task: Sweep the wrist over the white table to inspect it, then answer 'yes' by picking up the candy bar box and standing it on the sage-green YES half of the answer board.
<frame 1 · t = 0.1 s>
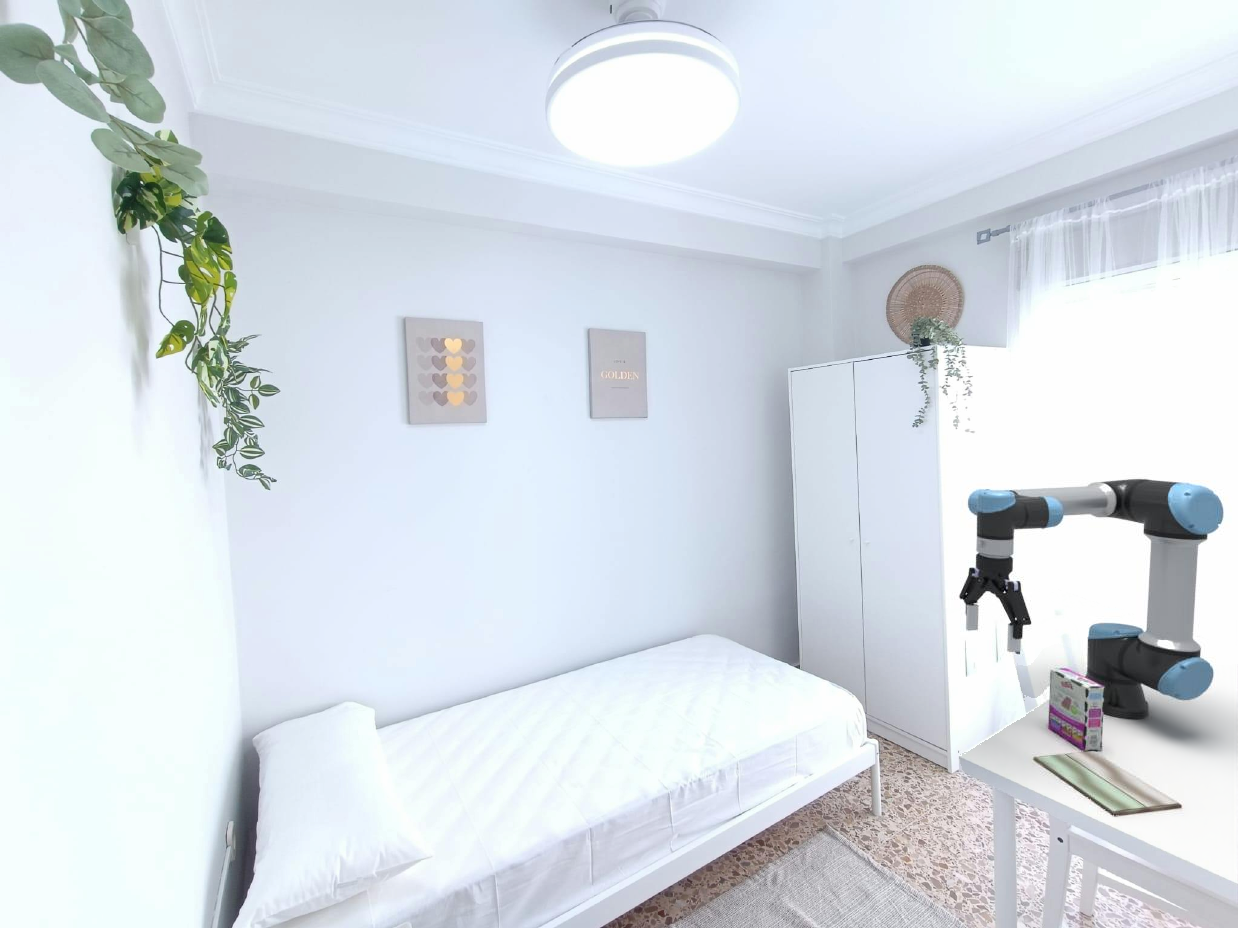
hand: (991, 639, 142), 28 cm above the table, fingers open, 13 cm apart
answer board: (1102, 781, 131), on the table
candy bar box: (1074, 739, 148), on the table
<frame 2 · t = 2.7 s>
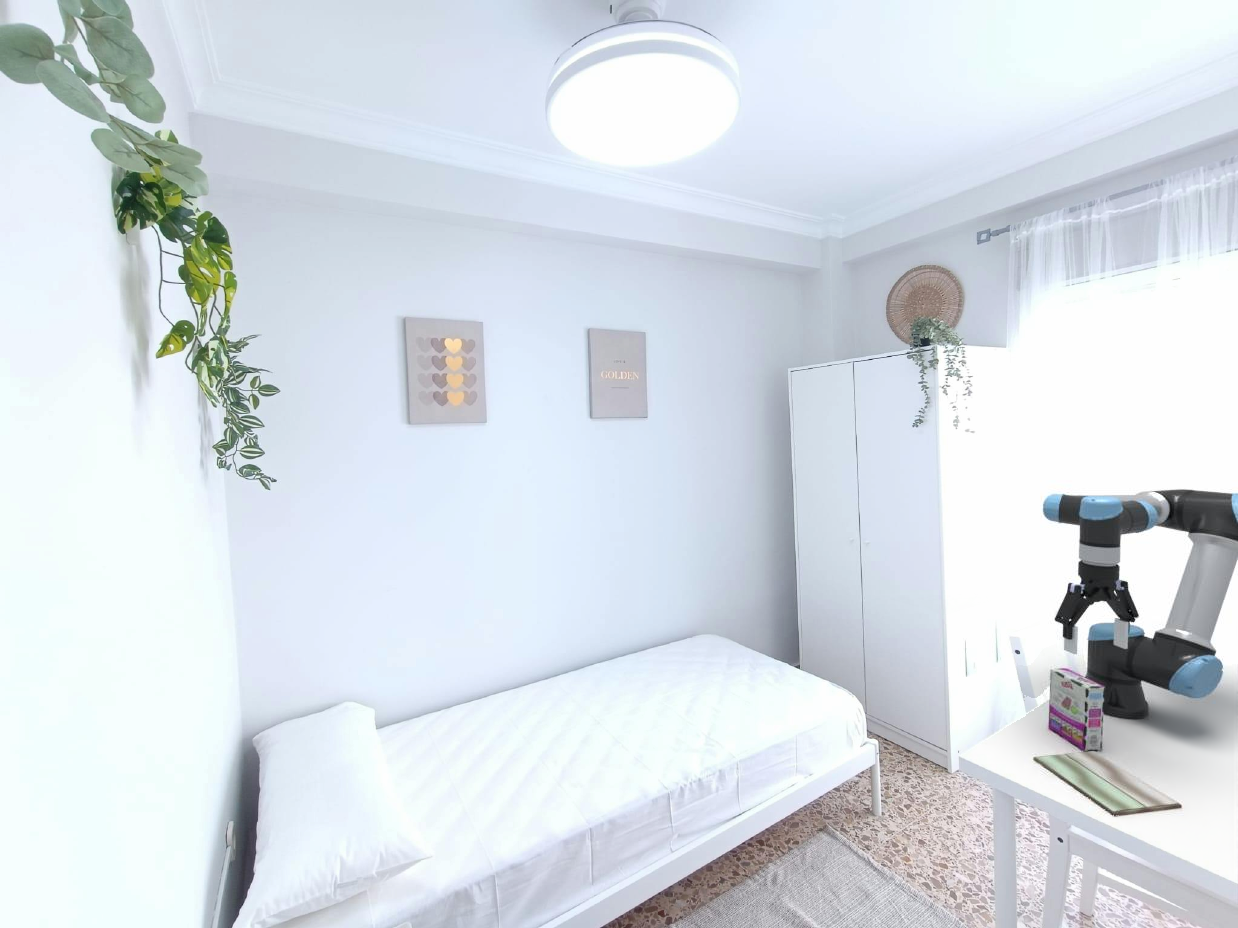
hand: (1095, 649, 139), 26 cm above the table, fingers open, 13 cm apart
nothing on the table moved.
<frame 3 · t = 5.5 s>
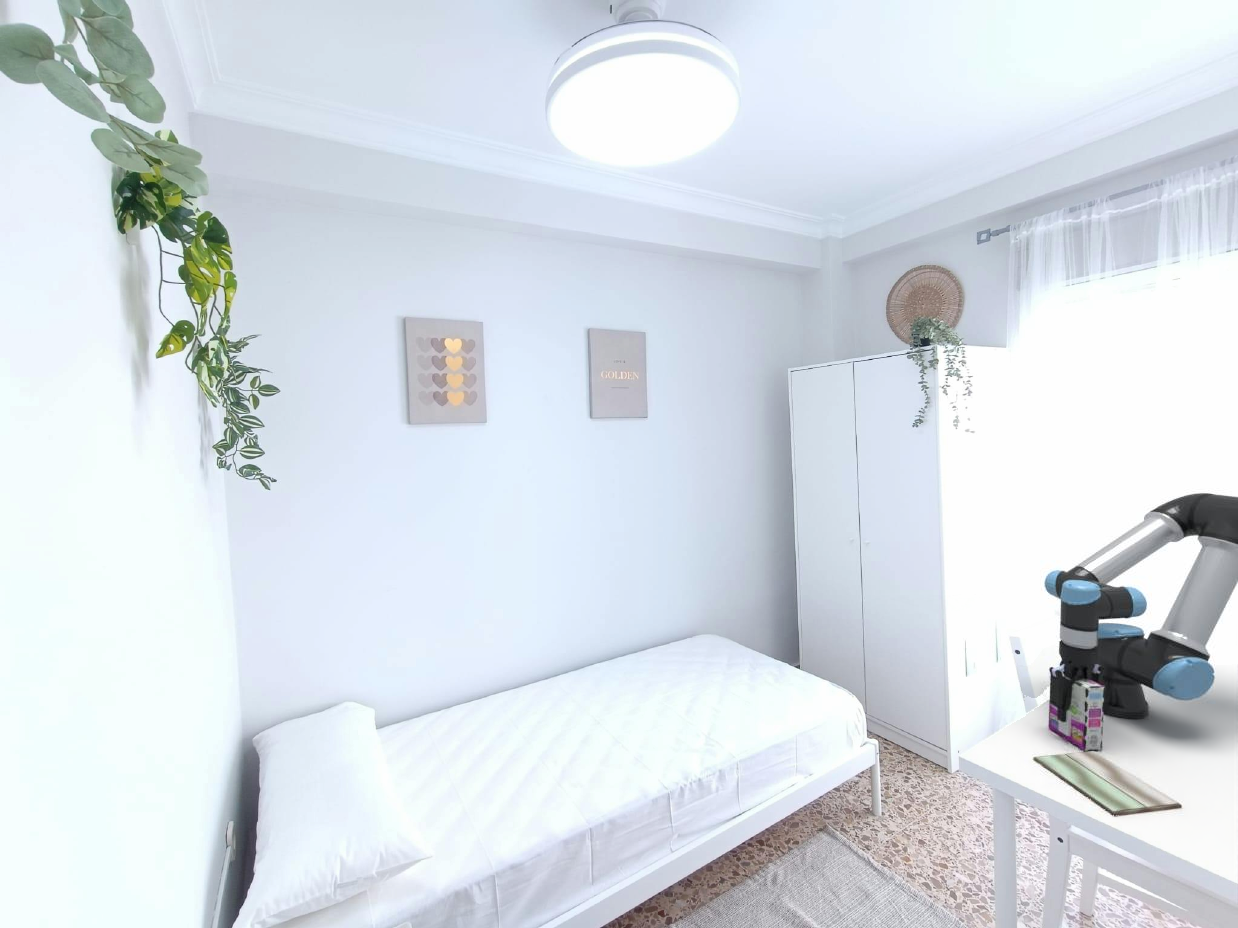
hand: (1074, 731, 147), 2 cm above the table, fingers closed on candy bar box, 5 cm apart
candy bar box: (1074, 739, 148), on the table, touching gripper
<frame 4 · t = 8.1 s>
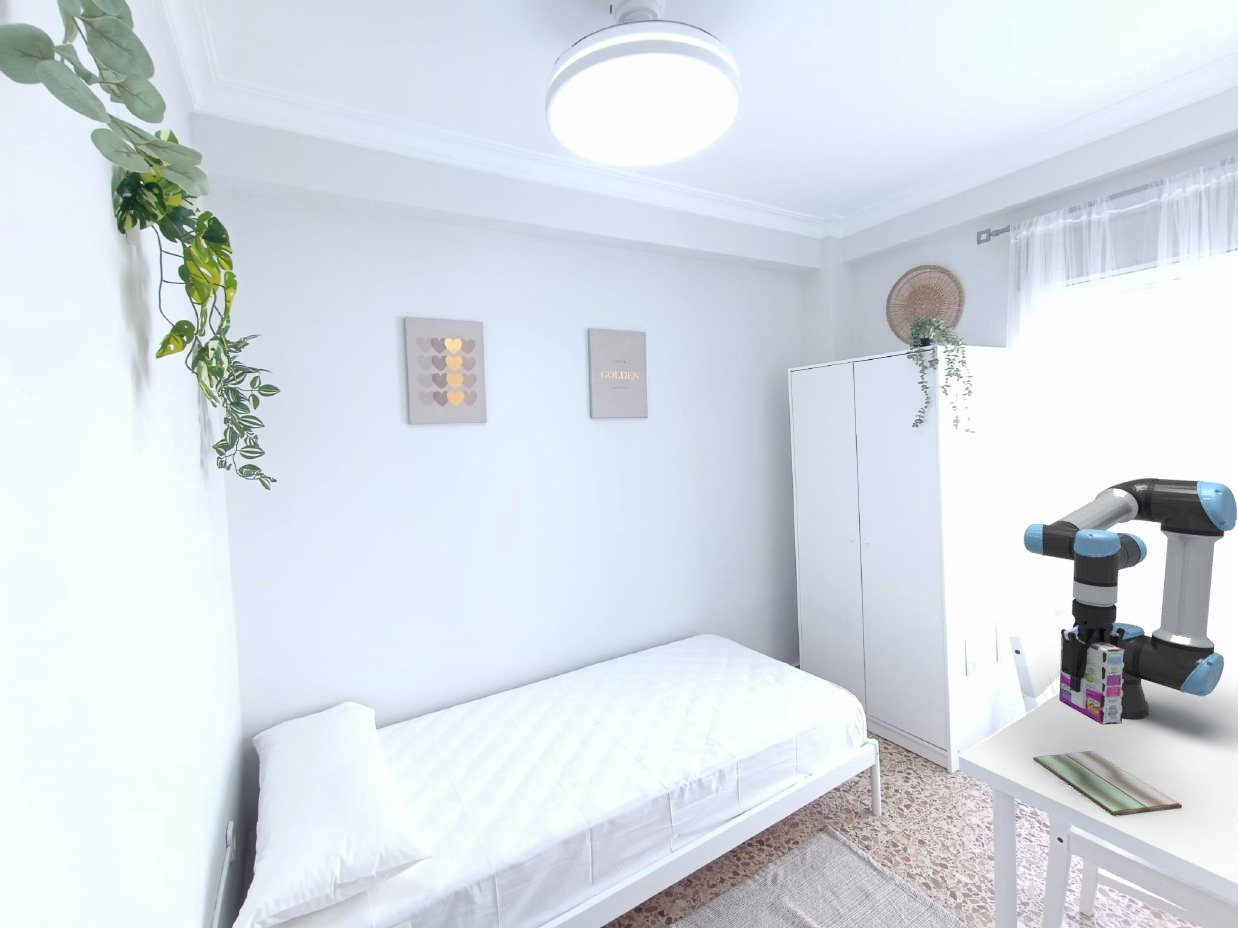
hand: (1089, 703, 129), 19 cm above the table, fingers closed on candy bar box, 5 cm apart
candy bar box: (1089, 712, 129), point 17 cm above the table, touching gripper
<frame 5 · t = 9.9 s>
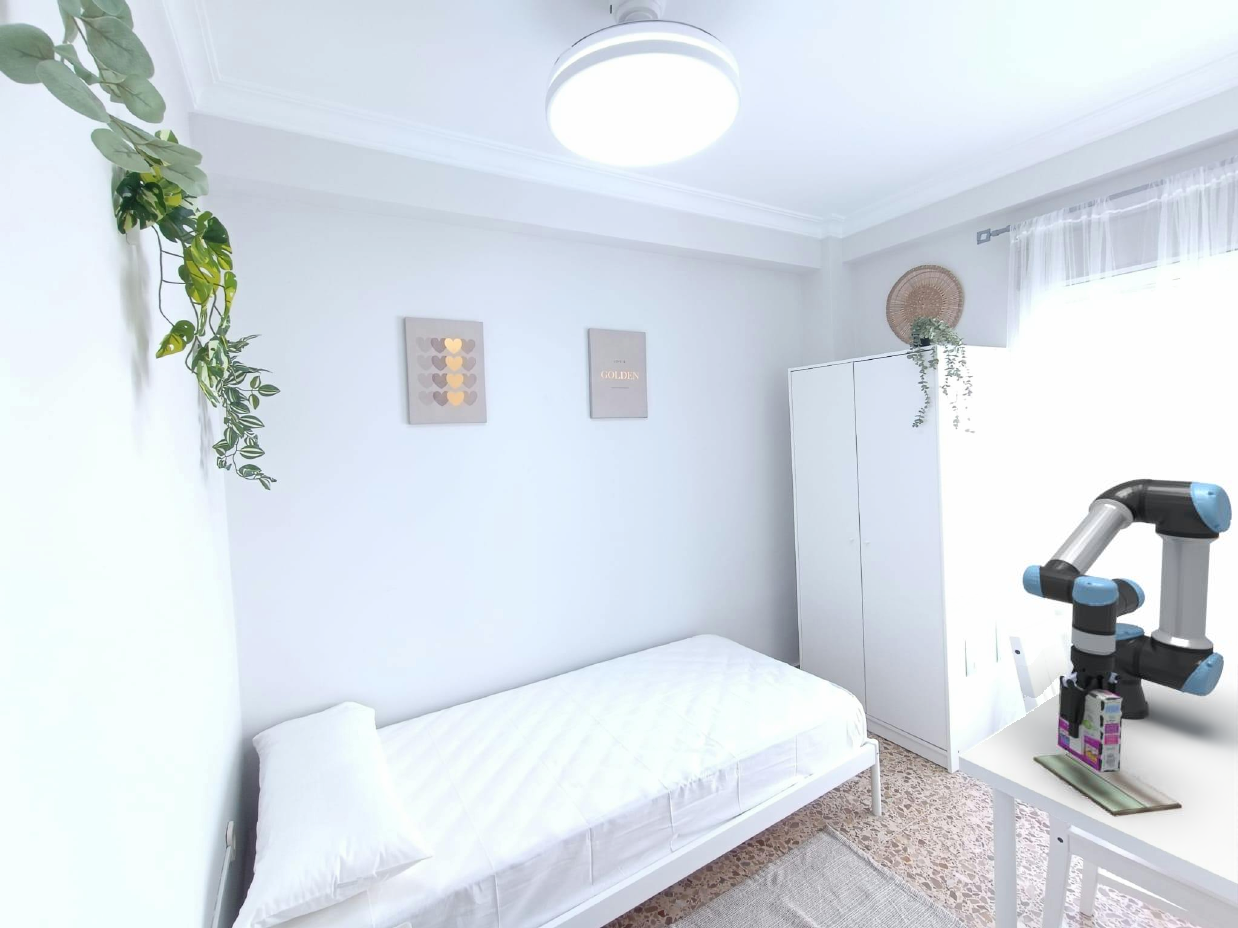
hand: (1087, 749, 129), 8 cm above the table, fingers closed on candy bar box, 5 cm apart
candy bar box: (1087, 758, 130), point 6 cm above the table, touching gripper
when the fingers open (4 cm above the table, at t = 11.0 s): candy bar box drops 1 cm, resting on answer board.
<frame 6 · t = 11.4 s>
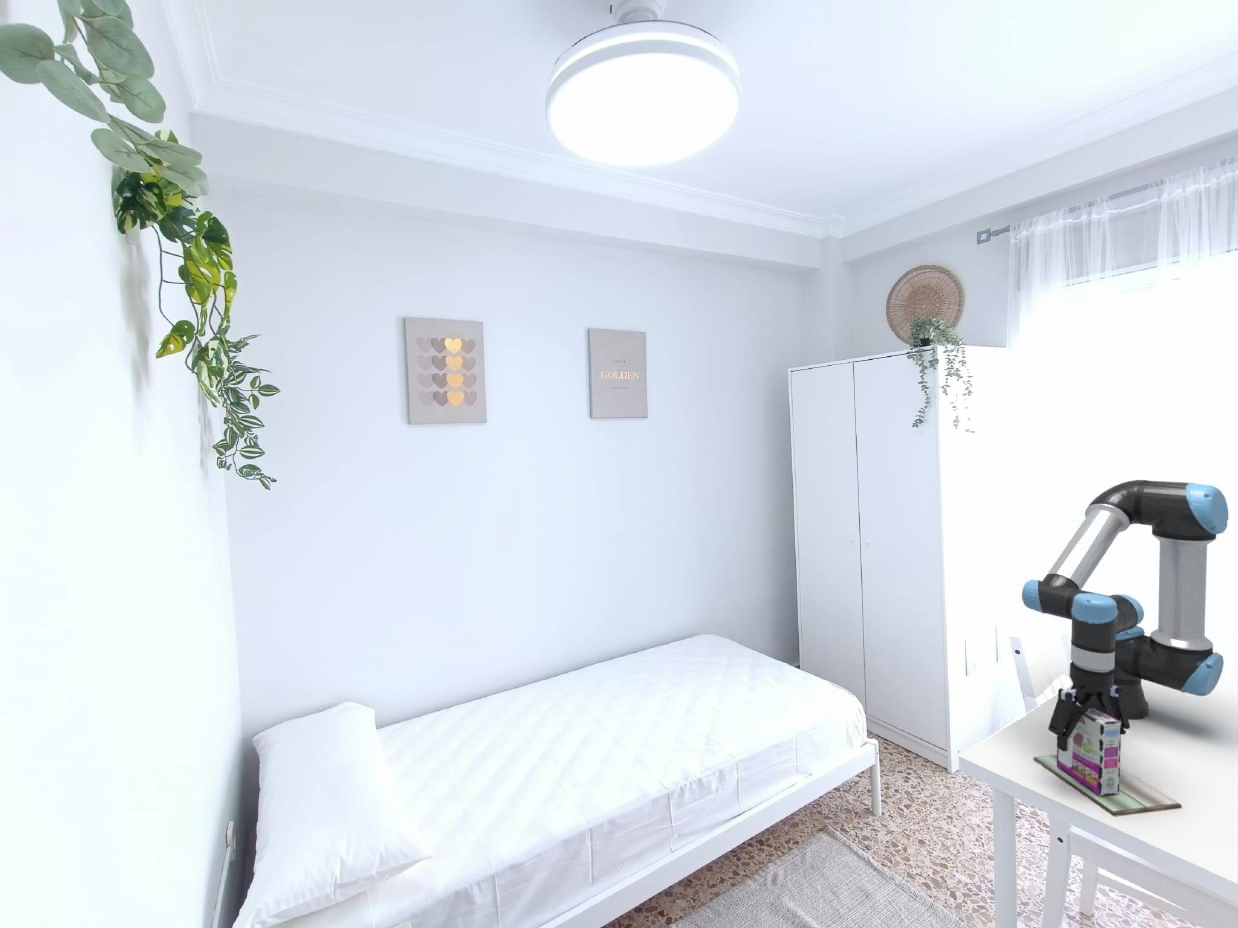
hand: (1087, 760, 130), 5 cm above the table, fingers open, 10 cm apart
candy bar box: (1086, 780, 130), point 1 cm above the table, touching answer board
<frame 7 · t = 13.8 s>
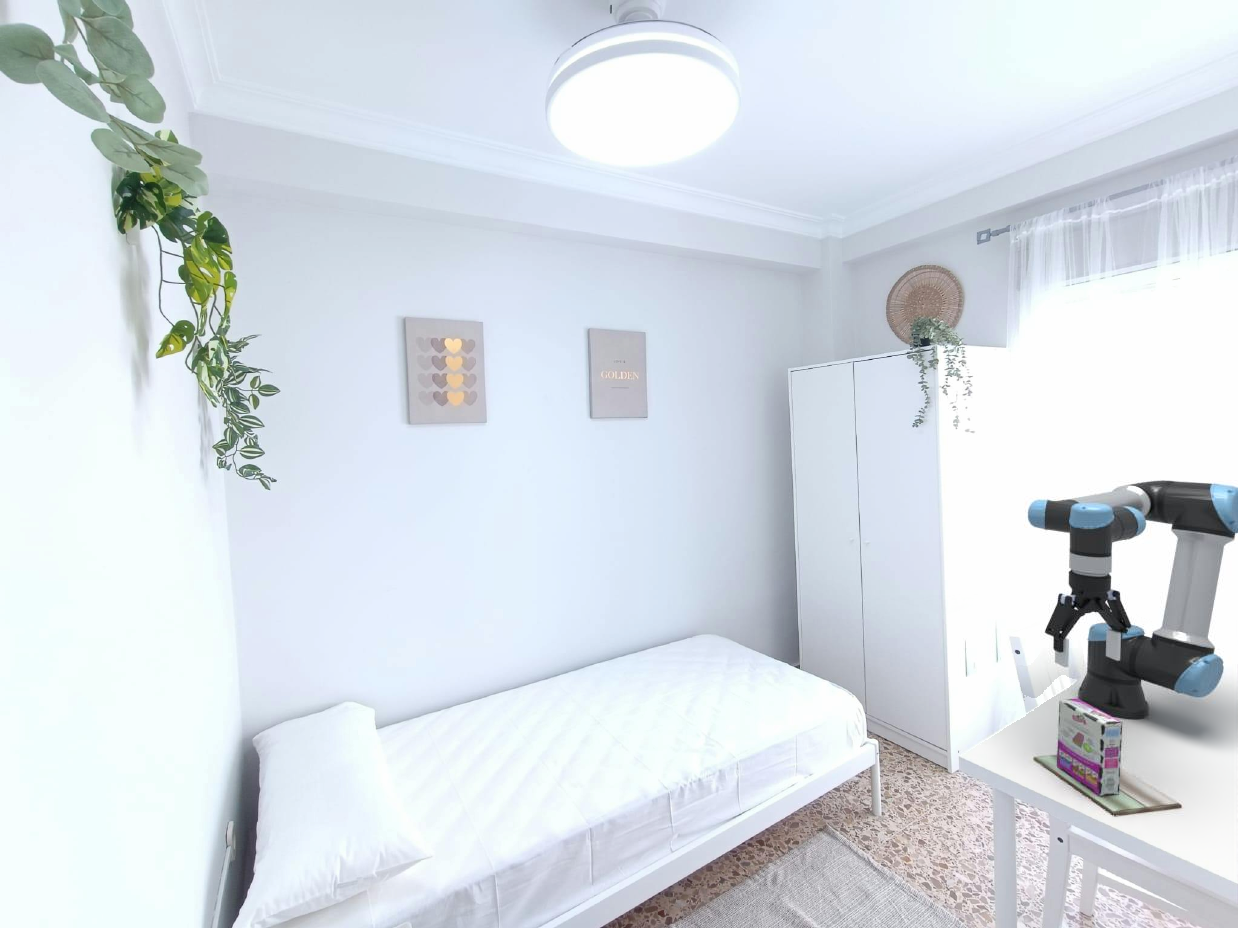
hand: (1087, 661, 134), 26 cm above the table, fingers open, 13 cm apart
nothing on the table moved.
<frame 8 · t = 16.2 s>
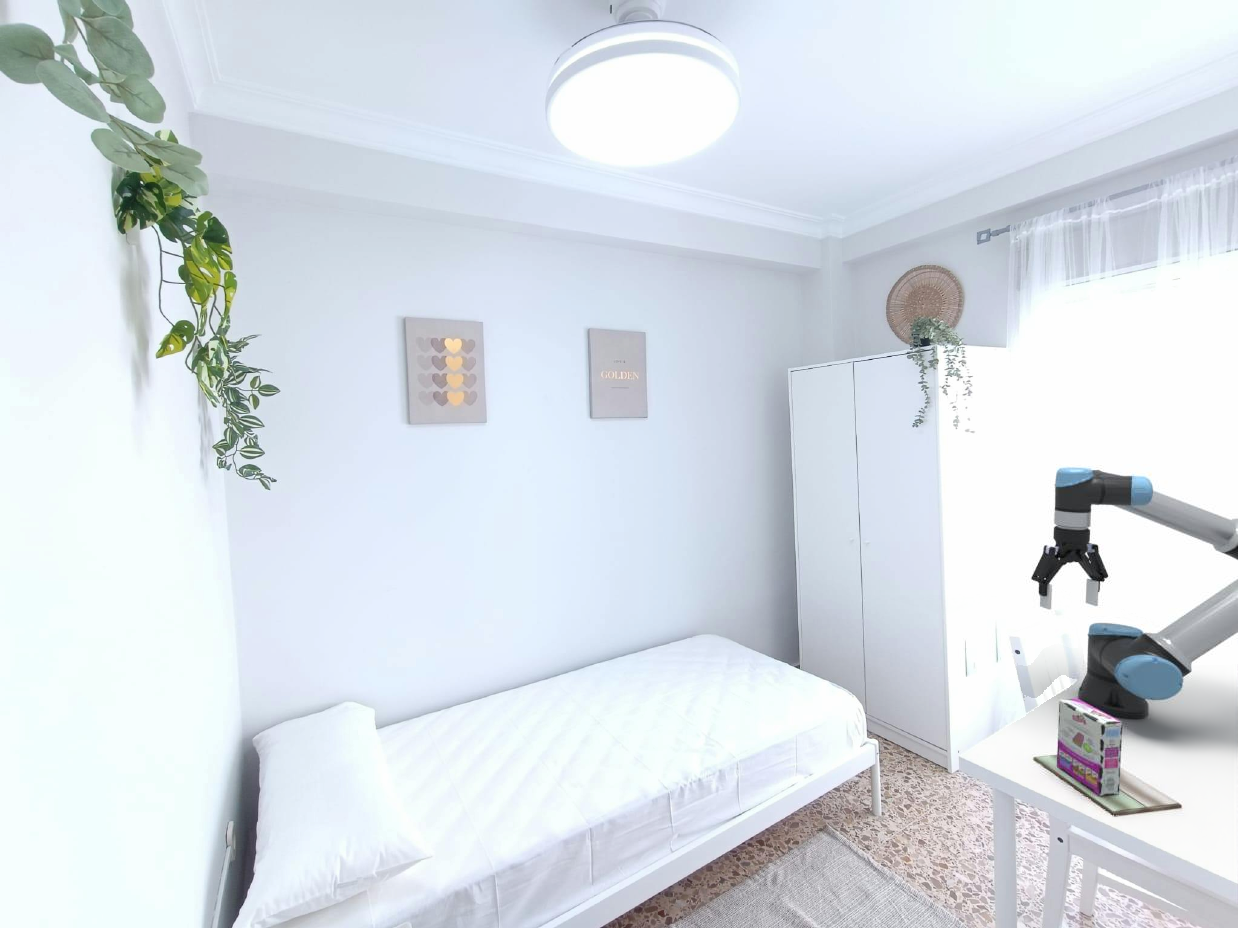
hand: (1068, 606, 153), 32 cm above the table, fingers open, 13 cm apart
nothing on the table moved.
at the end: candy bar box inside the target area (0.4 cm from its centre), point 0.6 cm above the table; candy bar box tilted 0°; the gripper is holding nothing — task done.
